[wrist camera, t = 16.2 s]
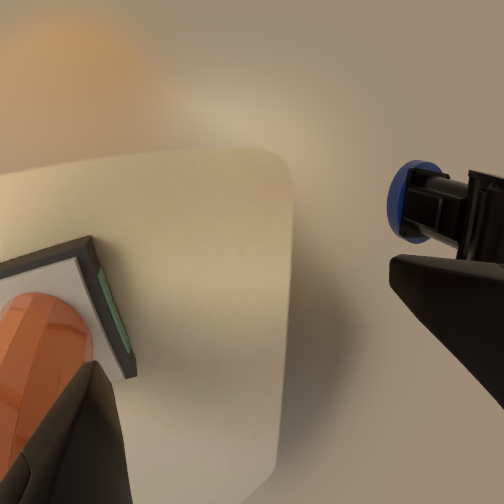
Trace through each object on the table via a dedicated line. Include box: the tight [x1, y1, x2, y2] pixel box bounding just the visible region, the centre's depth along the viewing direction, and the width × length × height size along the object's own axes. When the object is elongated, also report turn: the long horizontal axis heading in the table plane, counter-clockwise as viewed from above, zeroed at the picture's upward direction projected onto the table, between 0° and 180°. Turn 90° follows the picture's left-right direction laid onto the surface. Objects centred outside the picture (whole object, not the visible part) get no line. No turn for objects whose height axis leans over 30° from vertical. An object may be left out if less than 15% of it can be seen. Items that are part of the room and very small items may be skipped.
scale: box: [0, 235, 137, 382], centre depth 18 cm, size 10×10×3 cm
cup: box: [0, 292, 93, 482], centre depth 11 cm, size 7×7×13 cm
